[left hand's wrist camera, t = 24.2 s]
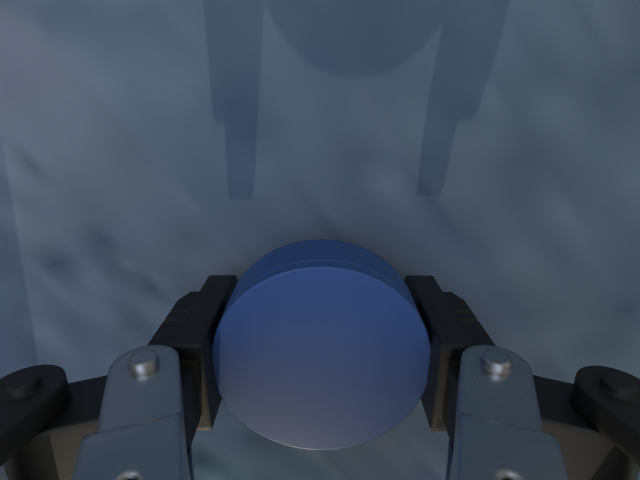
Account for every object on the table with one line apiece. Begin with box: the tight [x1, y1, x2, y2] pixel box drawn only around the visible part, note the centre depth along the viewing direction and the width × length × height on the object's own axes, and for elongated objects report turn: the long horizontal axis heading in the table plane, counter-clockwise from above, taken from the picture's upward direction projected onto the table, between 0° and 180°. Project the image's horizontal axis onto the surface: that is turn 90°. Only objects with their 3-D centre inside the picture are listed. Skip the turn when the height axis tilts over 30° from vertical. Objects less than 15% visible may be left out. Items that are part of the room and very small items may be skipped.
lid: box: [212, 240, 431, 450], centre depth 10 cm, size 5×5×2 cm
